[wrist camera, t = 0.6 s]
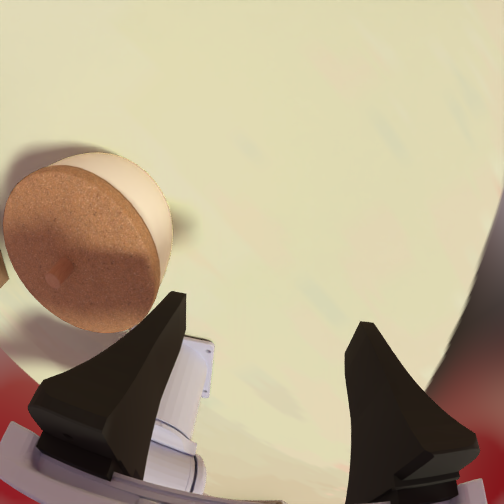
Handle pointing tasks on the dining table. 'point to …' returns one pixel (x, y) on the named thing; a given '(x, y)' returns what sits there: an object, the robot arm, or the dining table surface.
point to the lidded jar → (90, 240)
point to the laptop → (270, 502)
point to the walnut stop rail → (2, 272)
